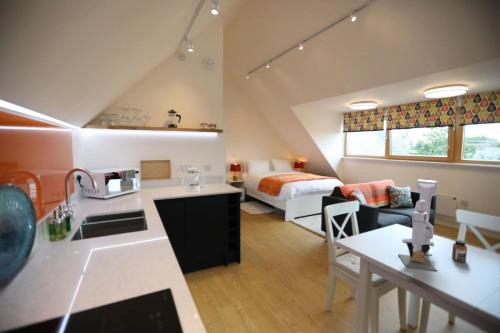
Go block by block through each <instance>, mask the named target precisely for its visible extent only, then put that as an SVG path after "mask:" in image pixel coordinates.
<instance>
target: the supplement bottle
mask: <svg viewBox="0 0 500 333" xmlns="http://www.w3.org/2000/svg"><path fill="white" fill-rule="evenodd" d="M467 253H468V246H467V245H466V241H464V240H462V239H455V242H454V243H453V244H452V253H451V258H452V260H454V261H456V262H458V263H466V261H467Z"/></svg>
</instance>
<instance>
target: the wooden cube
mask: <svg viewBox="0 0 500 333" xmlns="http://www.w3.org/2000/svg"><path fill="white" fill-rule="evenodd" d="M410 257H411V256H410ZM411 259H412V260H413V261H418V262H424V252H423V251H422V250H421V249H413V256H412V257H411Z"/></svg>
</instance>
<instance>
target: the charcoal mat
mask: <svg viewBox="0 0 500 333" xmlns="http://www.w3.org/2000/svg"><path fill="white" fill-rule="evenodd" d="M397 256H398V257H399V258H400V260H401V262H402V264H403V265H404V266H405V267H406V268H409V269H419V270H425V271H431V272H437V271H438V269H436V267H435V266H434V265H433V264H432V263H431V261H430V260H429V259H428V258H427V257H426V256H425V257H424V262H418V261H413V260H412V259H411V257H410V254H400V253H398V254H397Z"/></svg>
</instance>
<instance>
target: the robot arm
mask: <svg viewBox="0 0 500 333" xmlns="http://www.w3.org/2000/svg"><path fill="white" fill-rule="evenodd" d="M438 189H439V182H438V181H437V180H429V179H428V180H427V179H417V181H416V190H417V193H419V199H418V200H417V201H416V203H415V207H414V211H412V214H411V225H412V229H411V231H412V232H411V238H402V239H401V242H402V243H403V244H406V246H407V249H408V253H409V255H410V256H411V257H412V256H413V249H421V250H422V251H423V252H424V257H426V255H427V256H432V255H433V254H432V252H430V249H431V247H435V242H434V241H431V240H432V239H433V238H434V233H435V232H434V231H435V229H434V228H435V227H434V225H432V224H431V223H430V222H429V220H430V212H431V205H432V204H431V203H432V198H433V197H434V196H436V195H437V194H438Z"/></svg>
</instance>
